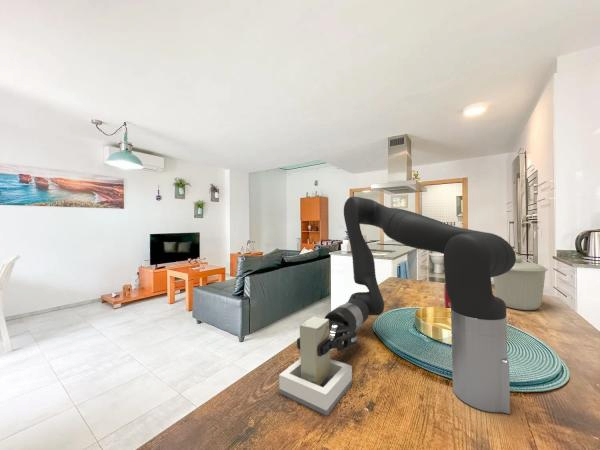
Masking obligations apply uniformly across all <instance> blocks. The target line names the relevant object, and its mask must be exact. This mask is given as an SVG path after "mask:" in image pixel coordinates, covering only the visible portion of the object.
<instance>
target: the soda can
mask: <svg viewBox="0 0 600 450" xmlns="http://www.w3.org/2000/svg"><path fill="white" fill-rule="evenodd" d="M443 289H444V291H443V296H444V308H445V309H446V308H451V302H450V299H449V297H448V295H447V292H446V284H445V283H444V284H443Z"/></svg>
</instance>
